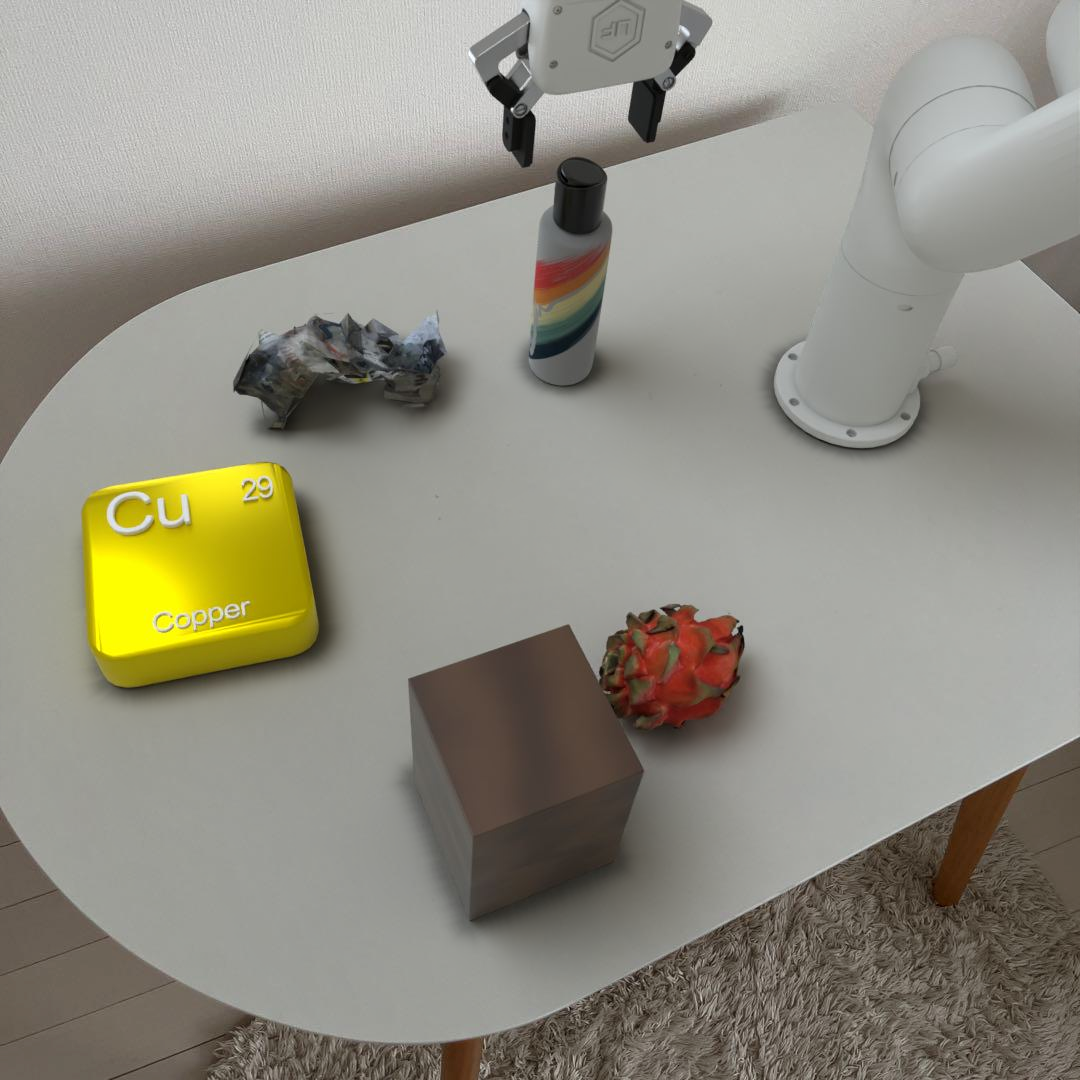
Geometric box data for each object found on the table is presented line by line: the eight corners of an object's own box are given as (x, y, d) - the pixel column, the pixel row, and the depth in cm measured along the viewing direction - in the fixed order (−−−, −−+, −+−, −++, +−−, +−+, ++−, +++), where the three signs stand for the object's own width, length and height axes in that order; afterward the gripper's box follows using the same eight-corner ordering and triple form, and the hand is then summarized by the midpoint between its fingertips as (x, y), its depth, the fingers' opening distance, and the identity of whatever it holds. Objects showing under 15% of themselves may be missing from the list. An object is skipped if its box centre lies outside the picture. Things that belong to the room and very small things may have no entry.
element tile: (103, 696, 76) (85, 660, 72) (94, 524, 84) (77, 484, 80) (324, 652, 79) (317, 616, 75) (293, 490, 87) (286, 451, 83)
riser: (551, 730, 77) (569, 623, 65) (614, 861, 71) (644, 770, 60) (413, 780, 74) (407, 678, 62) (468, 921, 69) (472, 837, 57)
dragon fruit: (576, 729, 78) (710, 674, 84) (647, 777, 71) (788, 713, 77) (561, 619, 76) (700, 569, 81) (633, 657, 69) (780, 600, 74)
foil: (443, 430, 88) (271, 334, 81) (376, 486, 95) (215, 403, 89) (469, 324, 94) (312, 227, 88) (405, 385, 102) (256, 300, 95)
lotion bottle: (517, 349, 98) (531, 153, 82) (576, 334, 100) (601, 139, 84) (543, 394, 95) (563, 199, 79) (603, 378, 97) (634, 184, 81)
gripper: (500, -60, 61) (488, 198, 75) (768, -96, 66) (710, 152, 80) (452, -122, 65) (449, 135, 79) (708, -151, 70) (663, 95, 84)
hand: (580, 143), depth 80 cm, fingers open, 9 cm apart
